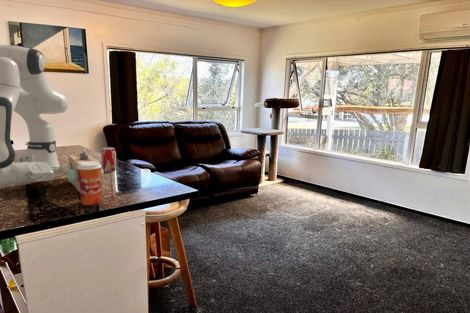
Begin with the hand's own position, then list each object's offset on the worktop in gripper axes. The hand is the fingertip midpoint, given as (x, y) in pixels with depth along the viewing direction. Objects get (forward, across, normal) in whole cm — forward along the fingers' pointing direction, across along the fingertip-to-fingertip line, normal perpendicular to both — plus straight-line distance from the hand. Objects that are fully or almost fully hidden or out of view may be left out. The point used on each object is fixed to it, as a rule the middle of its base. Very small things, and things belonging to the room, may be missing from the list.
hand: (62, 169), depth 141 cm
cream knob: (+6, 0, +2) cm, 7 cm away
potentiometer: (+7, -7, -5) cm, 11 cm away
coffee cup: (+4, -29, +7) cm, 31 cm away
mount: (+7, -7, +7) cm, 12 cm away
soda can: (+24, +16, +7) cm, 29 cm away
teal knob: (+6, -13, +2) cm, 15 cm away
